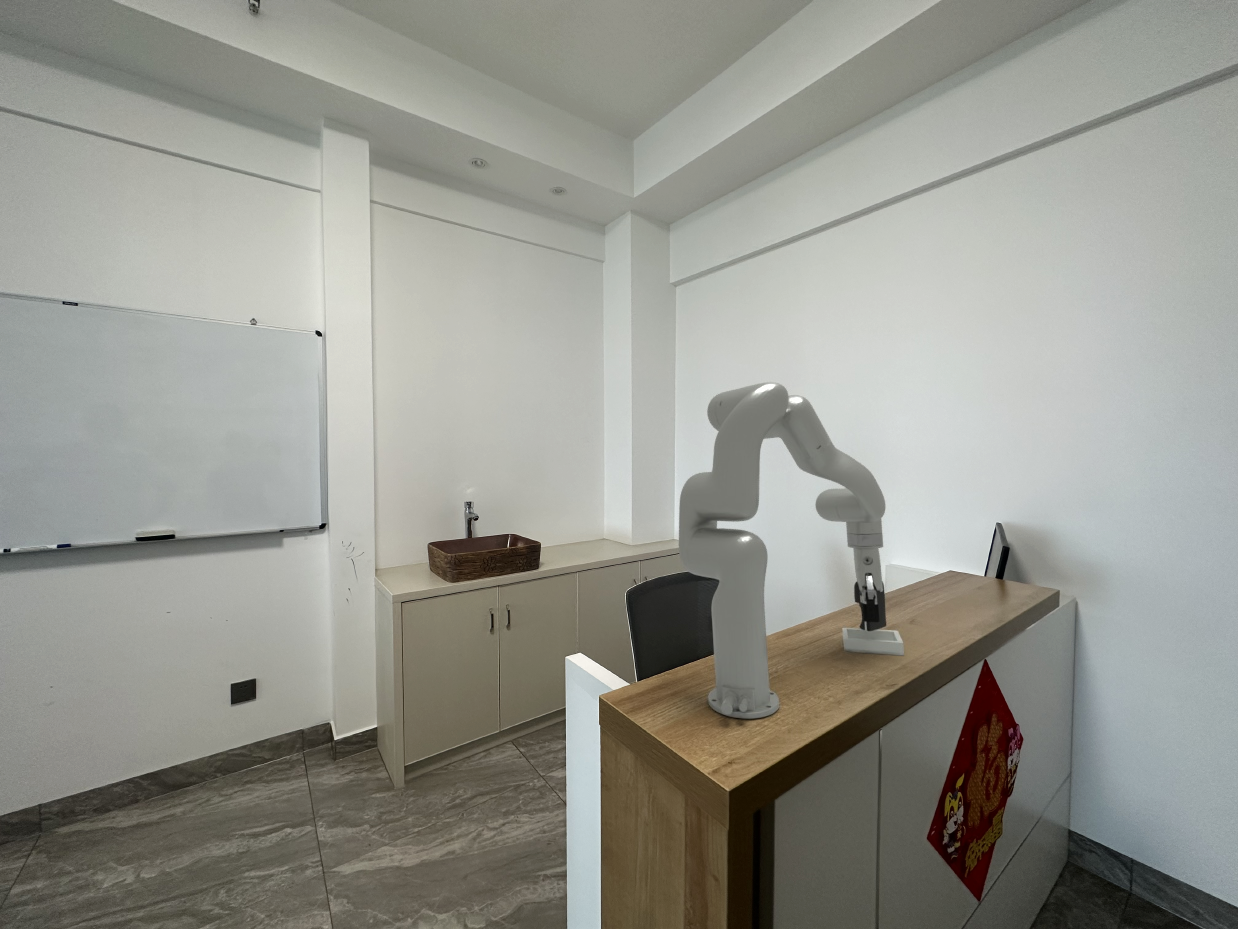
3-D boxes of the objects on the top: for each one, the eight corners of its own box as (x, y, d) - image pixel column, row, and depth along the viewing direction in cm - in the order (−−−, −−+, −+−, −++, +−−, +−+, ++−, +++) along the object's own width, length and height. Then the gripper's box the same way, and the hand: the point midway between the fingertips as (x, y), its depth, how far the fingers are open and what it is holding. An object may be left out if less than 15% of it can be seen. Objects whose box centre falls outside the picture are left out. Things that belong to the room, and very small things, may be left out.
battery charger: (872, 623, 122) (869, 575, 122) (887, 627, 118) (884, 577, 119) (854, 629, 118) (850, 579, 119) (869, 633, 115) (865, 582, 115)
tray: (904, 655, 112) (903, 642, 112) (844, 651, 116) (843, 639, 116) (898, 642, 120) (897, 630, 120) (843, 639, 124) (842, 627, 125)
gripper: (887, 545, 109) (892, 629, 109) (879, 535, 125) (884, 607, 125) (848, 545, 112) (854, 627, 112) (845, 535, 128) (850, 606, 128)
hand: (870, 616), depth 118 cm, fingers closed on battery charger, 7 cm apart
